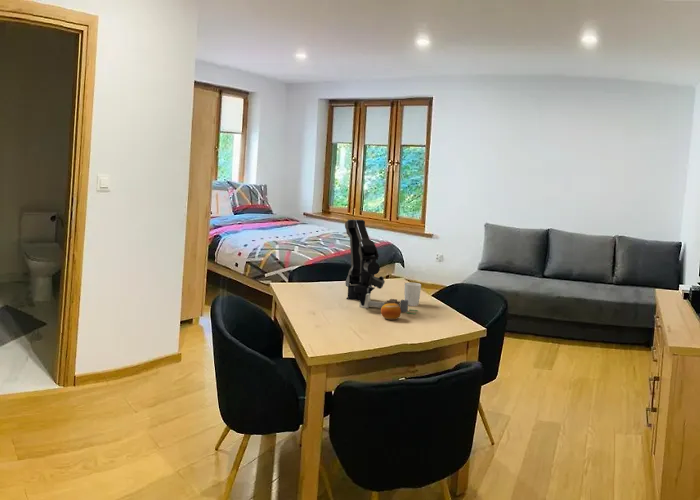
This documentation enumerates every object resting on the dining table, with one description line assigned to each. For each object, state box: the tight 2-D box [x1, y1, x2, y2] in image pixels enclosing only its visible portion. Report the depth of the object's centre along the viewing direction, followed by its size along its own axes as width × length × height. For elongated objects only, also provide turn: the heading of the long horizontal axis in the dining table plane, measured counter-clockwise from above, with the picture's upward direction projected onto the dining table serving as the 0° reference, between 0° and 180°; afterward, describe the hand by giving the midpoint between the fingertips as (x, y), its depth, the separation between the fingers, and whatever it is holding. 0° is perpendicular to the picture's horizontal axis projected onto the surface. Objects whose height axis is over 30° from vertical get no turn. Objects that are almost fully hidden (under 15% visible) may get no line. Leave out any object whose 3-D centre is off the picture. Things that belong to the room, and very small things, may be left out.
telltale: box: [399, 299, 409, 313], centre depth 281 cm, size 3×3×5 cm
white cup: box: [403, 281, 422, 307], centre depth 296 cm, size 8×8×10 cm
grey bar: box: [358, 293, 399, 309], centre depth 285 cm, size 18×4×6 cm, turn 74°
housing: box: [384, 298, 419, 315], centre depth 282 cm, size 14×7×4 cm, turn 73°
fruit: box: [380, 303, 402, 321], centre depth 266 cm, size 8×8×8 cm
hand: (364, 304), depth 287 cm, fingers open, 6 cm apart
